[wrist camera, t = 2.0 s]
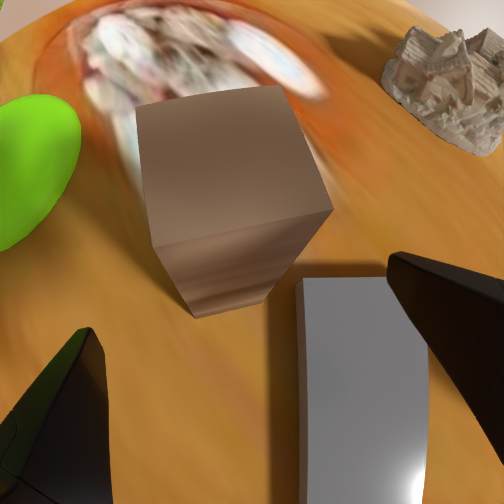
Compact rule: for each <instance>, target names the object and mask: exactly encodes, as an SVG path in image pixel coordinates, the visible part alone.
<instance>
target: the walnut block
mask: <svg viewBox="0 0 504 504" xmlns="http://www.w3.org/2000/svg"><path fill="white" fill-rule="evenodd" d="M135 110H136V123H137V134H138V144H139V154H140V163H141V172H142V180H143V188H144V195H145V202H146V209H147V216H148V222H149V229H150V235H151V241H152V247H153V249H154V251H155V253H156V255H157V256H158V258H159V260H160V261H161V263H162V265H163V267H164V268H165V270H166V272H167V273H168V275H169V277H170V278H171V280H172V282H173V283H174V285H175V287H176V288H177V290H178V292H179V293H180V295H181V296H182V298H183V300H184V301H185V303H186V305H187V306H188V308H189V309H190V311H191V313H192V314H193V316H194V317H195V319H198V318H202V317H206V316H210V315H215V314H219V313H223V312H227V311H231V310H235V309H239V308H243V307H248V306H251V305H255V304H259V303H261V302H262V301H263V300H264V299H265V297H266V296H267V295H268V294H269V292H270V291H271V290H272V289H273V287H274V286H275V285H276V284H277V282H278V281H279V280H280V279H281V277H282V276H283V275H284V273H285V272H286V271H287V270H288V268H289V267H290V266H291V265H292V263H293V262H294V261H295V259H296V258H297V257H298V256H299V254H300V253H301V252H302V250H303V249H304V248H305V246H306V245H307V244H308V243H309V241H310V240H311V239H312V237H313V236H314V235H315V233H316V232H317V231H318V229H319V228H320V227H321V226H322V224H323V223H324V222H325V220H326V219H327V218H328V216H329V215H330V214H331V212H332V211H333V210H334V208H333V206H332V203H331V200H330V198H329V195H328V193H327V190H326V188H325V185H324V183H323V180H322V178H321V175H320V173H319V170H318V168H317V165H316V163H315V161H314V158H313V156H312V153H311V151H310V149H309V146H308V144H307V142H306V140H305V137H304V135H303V133H302V130H301V128H300V126H299V124H298V122H297V119H296V117H295V115H294V113H293V111H292V108H291V106H290V104H289V102H288V100H287V98H286V96H285V94H284V91H283V89H282V87H281V85H271V86H260V87H250V88H241V89H233V90H225V91H218V92H211V93H205V94H199V95H193V96H187V97H182V98H176V99H171V100H166V101H161V102H156V103H152V104H147V105H143V106H139V107H135Z"/></svg>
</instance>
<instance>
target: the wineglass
mask: <svg viewBox="0 0 504 504" xmlns="http://www.w3.org/2000/svg"><path fill="white" fill-rule="evenodd" d="M3 1H4V0H0V9H1V7H2V4H3ZM80 148H81V124H80V121H79V119H78V116H77V113H76V111H75V110H74V109H73V108H72V107H71V106H70V105H69V104H68V103H67V102H66V101H65V100H62V99H60V98H57V97H55V96H52V95H45V94H33V95H28V96H24V97H20V98H17V99H15V100H12V101H10V102H8V103H6V104H4V105H2V106H0V252H2V251H5V250H7V249H9V248H10V247H12V246H13V245H15V244H16V243H17V242H19V241H20V240H22V239H23V238H25V237H26V236H28V235H29V234H30V233H31V232H32V230H33V229H34V228H35V227H36V226H37V225H38V224H39V223H40V222H41V221H42V220H43V219H44V218H45V217H46V216H47V215H48V214H49V212H50V211H51V209H52V208H53V206H54V205H55V204H56V202H57V201H58V199H59V198H60V197H61V195H62V194H63V192H64V190H65V188H66V186H67V184H68V182H69V180H70V178H71V176H72V174H73V172H74V170H75V168H76V164H77V160H78V156H79V152H80Z"/></svg>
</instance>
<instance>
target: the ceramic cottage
mask: <svg viewBox="0 0 504 504" xmlns="http://www.w3.org/2000/svg"><path fill="white" fill-rule="evenodd" d="M394 54H395V56H396V58H394V59H390V60H389V61H388V62H387V63H386V65H384V66H385V68H384V70H385V71H384V72H383V74H382V77H381V84H382V86H383V88H384V89H385V91H386V92H387V93H389V96H391V97H392V98H395V100H396V101H397V102H400V103H401V105H402V106H403V107H404V108H405V109H406V110H407V111H408V112H409V113H411V114H413V116H414V117H416V118H417V119H419V120H420V122H421V123H422V124H424V125H425V127H426V128H428V129H429V130H431V131H432V132H433V133H435V135H438V136H439V137H441V138H443V139H445V140H446V141H448V142H449V143H452V144H454V145H457V146H458V147H459V148H461V149H463V150H465V151H467V152H469V153H472V154H474V153H475V155H477V156H487V155H489V154H491V153H492V152H493V151H494V150H495V148H496V147H497V146H498V145H499V144H500V142H501V140H502V137H501V134H502V133H503V132H504V39H503V38H501V37H500V36H498V35H497V34H496V33H495V32H493V31H492V30H491V29H489V28H487V29H485V30H483V31H482V32H480V33H479V34H478V35H476V36H474V37H473V38H470V39H467V40H465V39H464V33H463V31H462V30H461V29H459V30H458V31H457V32H456V31H453V32H450V33H447V34H445V36H442V37H440V38H438V37H437V38H436V37H434V36H432V35H430V34H429V33H427V32H426V31H424V30H423V29H422V28H421V27H420V26H413V27H411V29H410V30H409V31H408V32H407V34H406V35H405V39H404V40H402V41H400V42H399V43H397V46H395V52H394Z"/></svg>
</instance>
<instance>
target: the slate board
mask: <svg viewBox="0 0 504 504" xmlns="http://www.w3.org/2000/svg"><path fill="white" fill-rule="evenodd" d="M295 296H296V318H297V344H298V379H299V504H421V500H422V492H423V485H424V476H425V466H426V455H427V440H428V418H429V370H428V347H427V343H426V342H425V340H424V339H423V337H422V336H421V335H420V333H419V332H418V331H417V329H416V328H415V326H414V325H413V324H412V322H411V321H410V319H409V318H408V316H407V315H406V313H405V311H404V309H403V308H402V306H401V304H400V303H399V301H398V299H397V298H396V296H395V294H394V293H393V291H392V290H391V288H390V286H389V285H388V282H387V279H386V277H342V278H302V279H301V280H300V281H299V282H298V283H297V284H296V285H295Z"/></svg>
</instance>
